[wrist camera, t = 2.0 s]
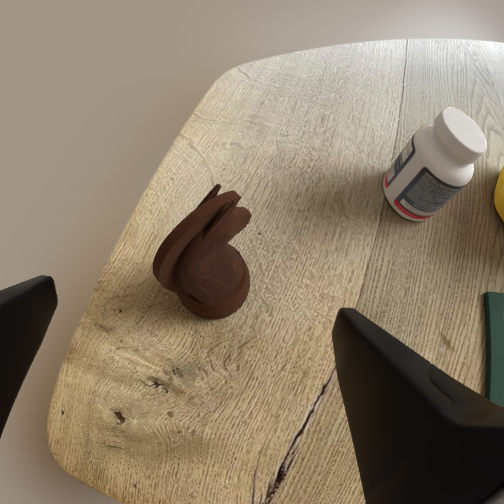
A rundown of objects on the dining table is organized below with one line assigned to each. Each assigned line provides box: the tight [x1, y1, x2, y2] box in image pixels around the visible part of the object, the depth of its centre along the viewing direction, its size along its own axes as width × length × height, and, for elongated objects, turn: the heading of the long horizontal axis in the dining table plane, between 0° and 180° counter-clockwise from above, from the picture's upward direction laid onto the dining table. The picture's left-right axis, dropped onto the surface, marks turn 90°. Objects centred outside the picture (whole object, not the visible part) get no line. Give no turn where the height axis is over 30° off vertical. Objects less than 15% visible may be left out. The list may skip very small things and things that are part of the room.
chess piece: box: [153, 184, 252, 319], centre depth 16 cm, size 5×5×10 cm
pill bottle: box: [383, 107, 487, 221], centre depth 20 cm, size 5×5×9 cm
